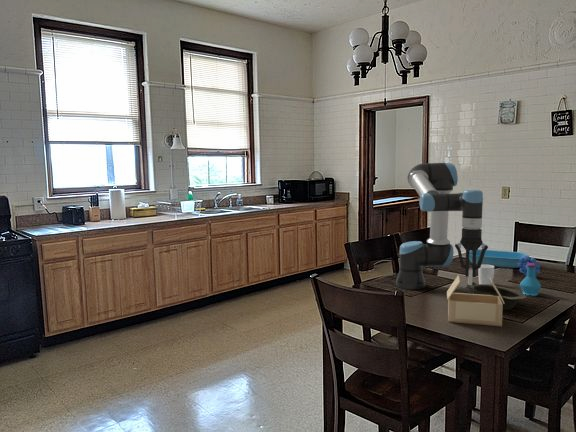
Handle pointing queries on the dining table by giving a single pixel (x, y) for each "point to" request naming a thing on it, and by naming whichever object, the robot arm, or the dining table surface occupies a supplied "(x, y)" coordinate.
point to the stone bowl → (507, 294)
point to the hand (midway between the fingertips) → (470, 284)
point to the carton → (475, 309)
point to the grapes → (525, 261)
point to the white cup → (485, 274)
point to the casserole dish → (499, 258)
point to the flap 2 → (496, 290)
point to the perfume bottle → (530, 281)
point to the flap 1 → (453, 287)
